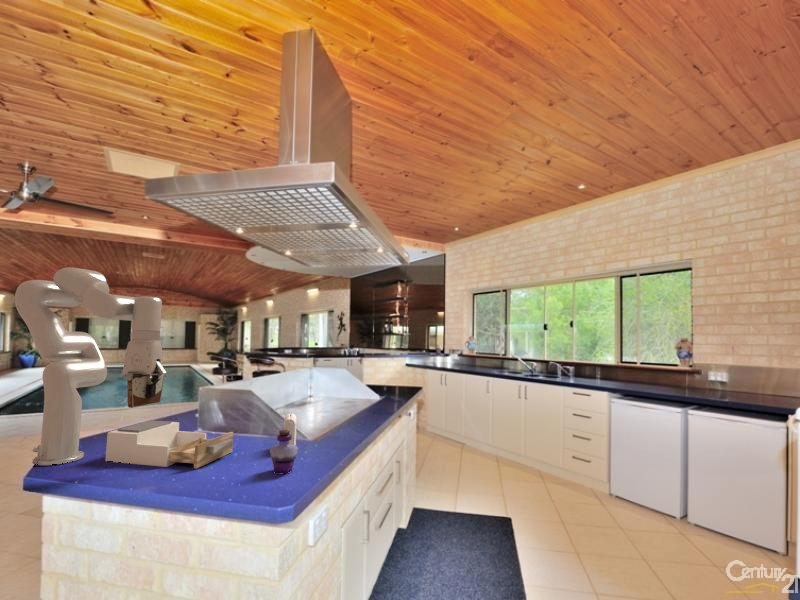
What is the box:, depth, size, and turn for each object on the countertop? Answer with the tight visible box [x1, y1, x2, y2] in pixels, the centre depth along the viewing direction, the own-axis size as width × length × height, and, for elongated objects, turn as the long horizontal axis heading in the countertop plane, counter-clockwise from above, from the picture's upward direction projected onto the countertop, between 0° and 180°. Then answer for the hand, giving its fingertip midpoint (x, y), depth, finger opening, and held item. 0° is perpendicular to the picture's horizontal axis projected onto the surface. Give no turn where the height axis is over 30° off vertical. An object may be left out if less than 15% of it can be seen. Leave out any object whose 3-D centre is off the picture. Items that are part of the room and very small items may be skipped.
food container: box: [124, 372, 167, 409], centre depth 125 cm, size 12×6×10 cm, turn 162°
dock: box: [105, 420, 207, 468], centre depth 137 cm, size 22×18×10 cm
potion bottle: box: [269, 429, 299, 474], centre depth 124 cm, size 9×9×12 cm
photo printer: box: [283, 413, 298, 446], centre depth 148 cm, size 10×4×12 cm, turn 11°
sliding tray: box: [169, 431, 234, 469], centre depth 134 cm, size 14×18×7 cm
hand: (141, 396), depth 125 cm, fingers closed on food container, 5 cm apart
